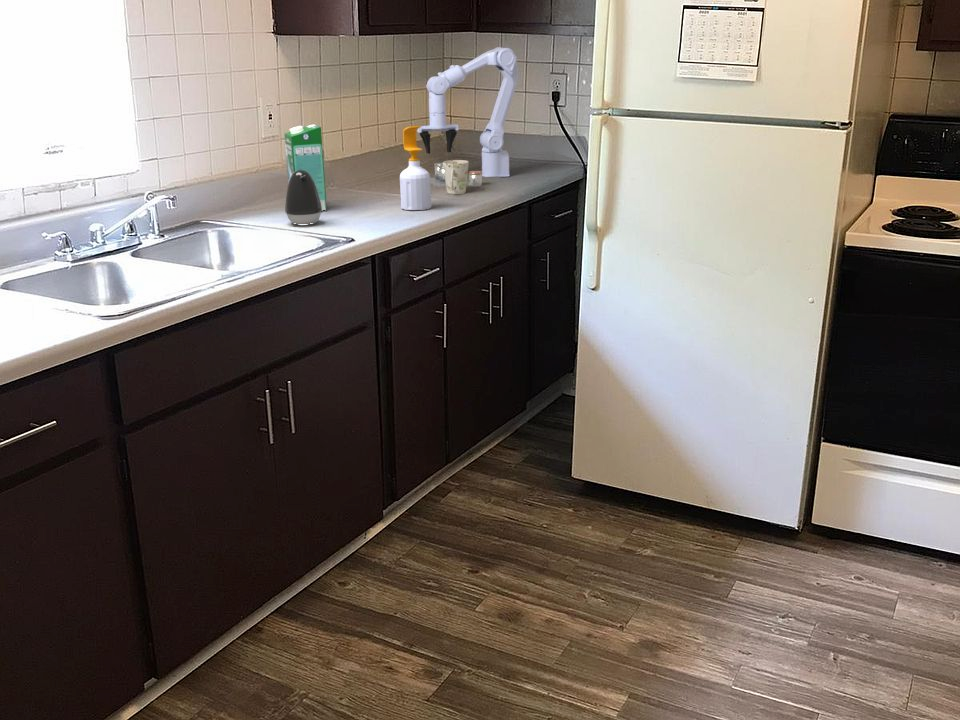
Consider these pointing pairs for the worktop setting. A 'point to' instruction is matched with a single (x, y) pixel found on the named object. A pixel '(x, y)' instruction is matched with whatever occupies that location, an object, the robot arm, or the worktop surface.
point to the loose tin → (475, 178)
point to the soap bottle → (414, 176)
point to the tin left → (437, 170)
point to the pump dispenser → (302, 199)
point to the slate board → (438, 182)
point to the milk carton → (307, 156)
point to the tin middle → (441, 174)
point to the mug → (456, 176)
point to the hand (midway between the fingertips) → (438, 152)
